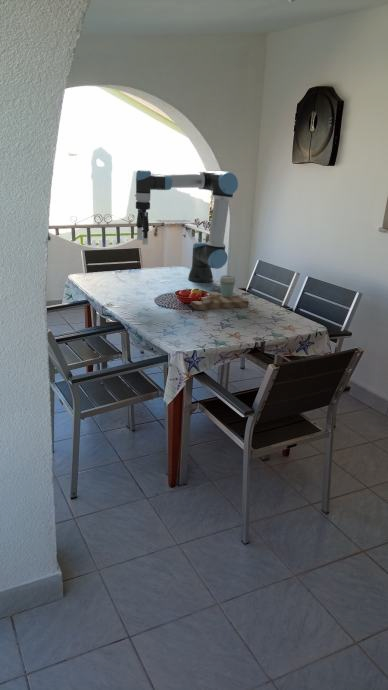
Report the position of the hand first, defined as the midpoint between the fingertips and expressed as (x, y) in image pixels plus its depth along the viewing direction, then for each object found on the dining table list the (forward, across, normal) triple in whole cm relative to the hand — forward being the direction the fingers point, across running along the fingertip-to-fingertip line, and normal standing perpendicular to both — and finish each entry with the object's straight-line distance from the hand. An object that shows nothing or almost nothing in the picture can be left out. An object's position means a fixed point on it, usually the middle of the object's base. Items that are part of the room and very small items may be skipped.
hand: (142, 242), depth 275 cm
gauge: (+24, +37, +28) cm, 52 cm away
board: (+27, +35, +33) cm, 55 cm away
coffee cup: (+27, +22, +42) cm, 55 cm away
